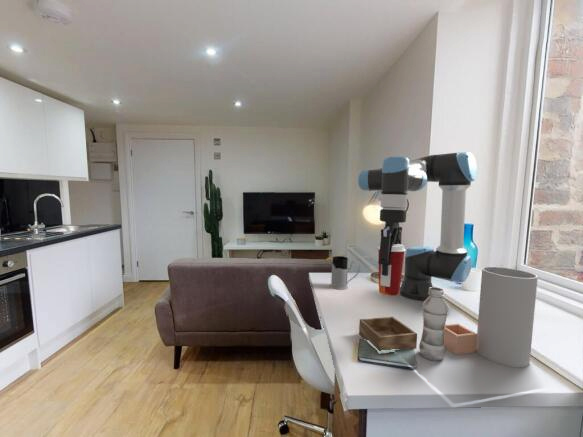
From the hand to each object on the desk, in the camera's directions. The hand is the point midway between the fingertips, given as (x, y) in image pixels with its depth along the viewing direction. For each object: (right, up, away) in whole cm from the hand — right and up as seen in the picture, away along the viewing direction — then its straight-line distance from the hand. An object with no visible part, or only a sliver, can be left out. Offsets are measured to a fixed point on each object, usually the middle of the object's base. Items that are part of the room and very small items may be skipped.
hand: (389, 282), depth 88 cm
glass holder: (-4, -15, +55) cm, 57 cm away
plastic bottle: (+10, -20, -7) cm, 23 cm away
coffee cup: (0, -3, 0) cm, 3 cm away
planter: (+20, -20, -2) cm, 28 cm away
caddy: (0, -19, +1) cm, 19 cm away
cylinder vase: (+31, -20, -5) cm, 37 cm away
